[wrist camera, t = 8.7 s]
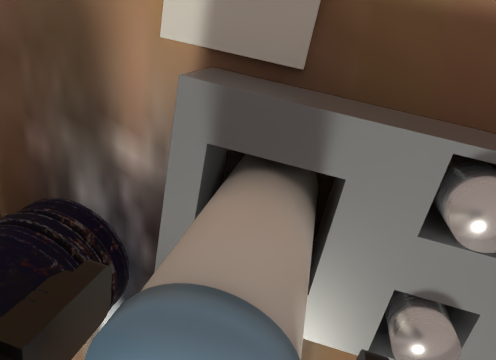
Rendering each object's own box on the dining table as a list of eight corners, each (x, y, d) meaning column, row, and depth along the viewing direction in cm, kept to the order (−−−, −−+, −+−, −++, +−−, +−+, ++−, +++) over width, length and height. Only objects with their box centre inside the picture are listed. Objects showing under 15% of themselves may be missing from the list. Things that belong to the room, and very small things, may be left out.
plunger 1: (372, 292, 24) (382, 361, 19) (389, 252, 22) (404, 314, 17) (421, 307, 23) (445, 381, 18) (440, 266, 22) (472, 334, 17)
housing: (184, 246, 26) (152, 290, 21) (212, 66, 21) (179, 74, 17) (454, 326, 24) (483, 395, 19) (550, 146, 19) (618, 180, 15)
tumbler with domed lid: (222, 213, 24) (66, 461, 10) (239, 130, 22) (71, 296, 8) (307, 237, 24) (269, 538, 10) (333, 154, 22) (332, 381, 7)
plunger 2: (413, 192, 21) (438, 241, 16) (434, 140, 20) (468, 176, 15) (469, 206, 21) (513, 261, 16) (494, 155, 19) (549, 196, 14)
